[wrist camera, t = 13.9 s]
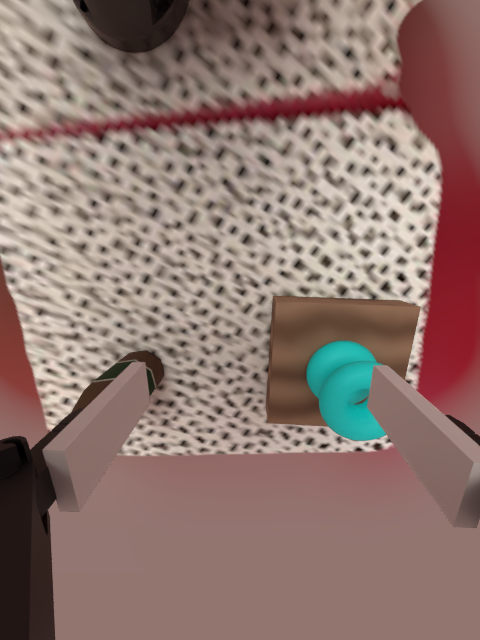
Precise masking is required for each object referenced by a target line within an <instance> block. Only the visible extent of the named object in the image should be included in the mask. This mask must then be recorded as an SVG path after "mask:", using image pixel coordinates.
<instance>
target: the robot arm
mask: <svg viewBox="0 0 480 640" xmlns="http://www.w3.org/2000/svg"><path fill="white" fill-rule="evenodd" d="M73 2H74V4H75V5H76V7H77V9H78V10H79V12H80V13H81V14H82V16H83V17H84V19H85V20H86V21H87V23H88V24H89V26H90V27H91V28H92V29H93V31H94V32H95V33H96V34H97V35H98V36H99V37H100V38H101V39H103V40H104V41H105V42H107V43H108V44H110V45H112V46H113V47H116V48H118V49H121V50H124V51H129V52H142V51H147V50H150V49H153V48H155V47H157V46H159V45H160V44H162V43H163V42H165V41H166V40H167V39H168V38H169V37H170V36H171V35H172V34H173V33H174V31H175V30H176V29H177V27H178V26H179V24H180V22H181V21H182V19H183V16H184V14H185V12H186V9H187V6H188V2H189V0H73ZM149 404H150V396H149V388H148V380H147V372H146V364H145V362H132V363H131V364H130V365H129V366H128V367H127V368H126V369H125V370H124V371H123V372H122V373H121V374H120V375H119V376H118V377H117V378H116V379H115V380H114V381H112V382H111V383H110V384H109V385H108V386H107V387H106V388H105V389H104V390H103V391H102V392H101V393H100V394H99V395H98V396H97V397H96V398H95V399H94V400H93V401H92V402H91V403H90V404H89V405H88V406H87V407H86V408H79V409H77V410H76V411H74V412H72V413H71V414H69V415H68V416H66V417H65V418H64V419H63V420H62V421H61V422H60V423H59V425H57V426H56V427H55V428H53V429H52V431H51V432H49V433H48V434H47V435H46V436H45V437H44V438H43V439H41V440H40V441H39V442H38V443H37V444H36V445H35V446H34V447H33V448H32V449H31V450H30V449H29V445H28V442H27V440H26V438H24V437H21V436H15V437H9V438H5V439H2V440H0V640H55V625H54V602H53V580H52V557H51V537H50V536H51V534H50V516H49V512H48V509H49V508H50V506H51V505H52V504H53V502H54V501H55V500H56V501H57V504H58V508H59V511H66V512H80V511H81V509H82V508H83V506H84V505H85V503H86V502H87V500H88V499H89V497H90V496H91V494H92V492H93V491H94V489H95V488H96V486H97V485H98V483H99V482H100V480H101V478H102V477H103V475H104V474H105V472H106V471H107V469H108V467H109V466H110V465H111V463H112V461H113V460H114V458H115V457H116V455H117V454H118V452H119V451H120V449H121V448H122V446H123V444H124V443H125V441H126V440H127V438H128V437H129V435H130V434H131V432H132V430H133V429H134V427H135V426H136V424H137V423H138V421H139V420H140V418H141V416H142V415H143V413H144V412H145V410H146V409H147V407H148V406H149ZM367 408H368V409H369V411H370V412H371V414H372V415H373V416H374V418H375V419H376V421H377V422H378V423H379V425H380V426H381V428H382V429H383V430H384V432H385V433H386V434H387V436H388V437H389V439H390V440H391V441H392V443H393V444H394V446H395V447H396V448H397V450H398V451H399V452H400V454H401V455H402V457H403V458H404V459H405V461H406V462H407V464H408V465H409V466H410V468H411V469H412V471H413V472H414V473H415V475H416V476H417V478H418V479H419V480H420V482H421V483H422V484H423V486H424V487H425V489H426V490H427V491H428V493H429V494H430V496H431V497H432V498H433V500H434V501H435V502H436V504H437V505H438V507H439V508H440V509H441V511H442V512H443V514H444V515H445V516H446V518H447V519H448V521H449V522H450V523H451V524H452V526H453V527H466V528H476V527H477V524H478V522H479V519H480V436H478V435H477V434H475V432H474V431H472V430H471V429H470V428H469V427H468V426H466V425H465V424H464V423H462V422H461V421H459V420H457V419H455V418H453V417H452V416H450V415H444V414H443V413H441V412H440V411H439V410H438V409H437V408H436V407H435V406H433V405H432V404H431V403H430V402H429V401H428V400H426V399H425V398H424V397H423V396H422V395H421V394H420V393H418V392H417V391H416V390H415V389H414V388H413V387H412V386H410V385H409V384H408V383H407V382H406V381H405V380H404V379H402V378H401V377H400V376H399V375H398V374H397V373H396V372H394V371H393V370H392V369H391V368H390V367H389V366H388V365H374V366H373V372H372V379H371V385H370V391H369V397H368V404H367Z"/></svg>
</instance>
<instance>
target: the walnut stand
mask: <svg viewBox="0 0 480 640" xmlns="http://www.w3.org/2000/svg"><path fill="white" fill-rule="evenodd" d="M420 308H421V307H419V306H416V305H413V304H410V303H406V302H403V301H400V300H373V299H346V298H320V297H293V296H273V305H272V320H271V336H270V351H269V367H268V382H267V397H266V410H267V421H268V423H276V424H294V425H312V426H328V425H327V424H326V422H325V421H324V419H323V417H322V415H321V413H320V409H319V399H318V398H317V397H316V396H315V395H314V394H313V392H312V391H311V389H310V387H309V385H308V382H307V377H306V373H307V366H308V363H309V361H310V359H311V357H312V356H313V355H314V353H315V352H316V351H317V350H318V349H320V348H321V347H323V346H324V345H326V344H328V343H331V342H335V341H352V342H356V343H358V344H360V345H362V346H364V347H365V348H367V349H368V350H369V351H370V352H371V353H372V355H373V356H374V358H375V360H376V362H377V363H380V364H383V365H388V366H389V367H390V368H391V369H392V370H394V371H395V372H396V373H397V374H398V375H399V376H400V377H401V378H402V379H404V380H405V376H406V372H407V367H408V362H409V358H410V353H411V349H412V344H413V340H414V335H415V331H416V326H417V321H418V317H419V312H420ZM368 396H369V395H368ZM368 396H367V397H366V398H365V399H364V400H362V401H360V402H358V403H356V404H360V403H363V402H364V401H365V400H366V399H367V398H368Z"/></svg>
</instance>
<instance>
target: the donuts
mask: <svg viewBox="0 0 480 640" xmlns="http://www.w3.org/2000/svg"><path fill="white" fill-rule="evenodd" d="M374 365H383V364H380V363H377V362H376V360H375V358H374V356H373V355H372V353H371V352H370V351H369V350H368V349H367V348H365V347H364V346H362V345H360V344H358V343H356V342H352V341H335V342H331V343H328V344H326V345H324V346H323V347H321V348H320V349H318V350H317V351H316V352H315V353H314V355H313V356H312V357H311V359H310V361H309V363H308V366H307V373H306V377H307V382H308V385H309V387H310V389H311V391H312V392H313V394H314V395H315V396H316V397H317V398H318V399H319V409H320V413H321V415H322V417H323V419H324V421H325V422H326V424H327V425H328V426H329V427H330V428H331V429H332V430H333V431H334V432H336V433H337V434H339V435H341V436H343V437H345V438H348V439H352V440H358V441H367V440H373V439H377V438H380V437H383V436H385V435H387V434H386V433H385V432H384V430H383V429H382V428H381V426H380V425H379V423H378V422H377V421H376V419H375V418H374V416H373V415H372V414H371V412H370V411H369V409H368V408H367V404H368V398H367V399H366V400H365V401H364V402H363V403H360V404H356V403H358V402H360V401H362V400H364V399H365V398H366V397H367V396H368V395H369V391H370V385H371V379H372V372H373V366H374ZM393 371H394V370H393ZM394 372H395V371H394ZM368 397H369V396H368Z"/></svg>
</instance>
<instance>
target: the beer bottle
mask: <svg viewBox="0 0 480 640" xmlns="http://www.w3.org/2000/svg"><path fill="white" fill-rule="evenodd" d="M132 362H145V364H146V372H147V380H148V388H149V396H150V395H151V394H152V392H153V391H154V390H155V388H156V387H157V385H158V384H159V382H160V381H161V380H162V378H163V376H164V372H163V368H162V364H161V360H160V359H159V358H158V357H156V356H154V355H153V354H151V353H150V352H148V351H139V352H132V353H129V354H128V355H126V356H125V357H123V358H122V359H121V360H120V361H118V362H117V363H116V364H115V365H113V366H112V367H111V368H110V369H108V370H107V371H106V372H105V373H103V374H102V375H101V376H100V377H98V378H97V379H96V380H95V381H93V382H92V383H91V384H90V385H89V386H88V387H87V388H86V389H85V390H84V392H83V393H82V395H81V397H80V398H79V400H78V401H77V403H76V405H75V406H74V408H73V410H72V412H74V411H76V410H77V409H79V408H86V407H87V406H88V405H89V404H90V403H91V402H92V401H93V400H94V399H95V398H96V397H97V396H98V395H99V394H100V393H101V392H102V391H103V390H104V389H105V388H106V387H107V386H108V385H109V384H110V383H111V382H112V381H114V380H115V379H116V378H117V377H118V376H119V375H120V374H121V373H122V372H123V371H124V370H125V369H126V368H127V367H128V366H129V365H130V364H131V363H132ZM72 412H71V413H72Z"/></svg>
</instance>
